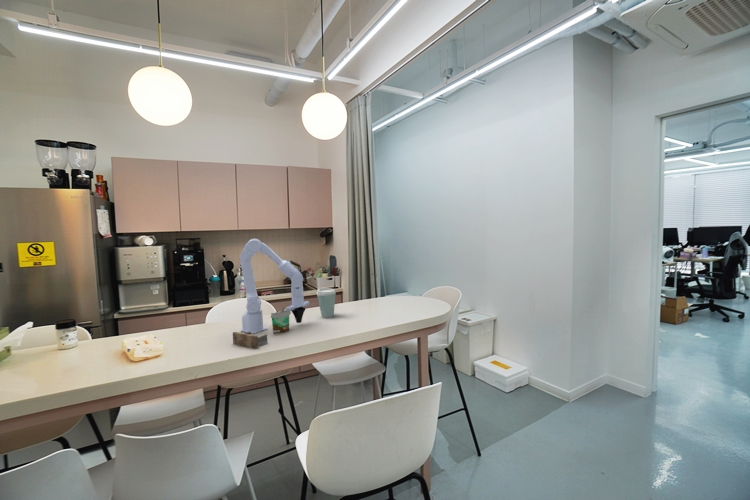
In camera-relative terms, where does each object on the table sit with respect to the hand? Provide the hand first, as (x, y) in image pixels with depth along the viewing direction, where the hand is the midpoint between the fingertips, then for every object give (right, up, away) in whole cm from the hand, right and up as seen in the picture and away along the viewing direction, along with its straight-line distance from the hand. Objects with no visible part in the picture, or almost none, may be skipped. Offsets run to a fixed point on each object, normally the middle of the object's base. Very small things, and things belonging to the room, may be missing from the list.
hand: (298, 322), depth 166 cm
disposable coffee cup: (+12, 0, +15) cm, 19 cm away
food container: (-5, -2, -9) cm, 10 cm away
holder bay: (-14, -3, -25) cm, 29 cm away
